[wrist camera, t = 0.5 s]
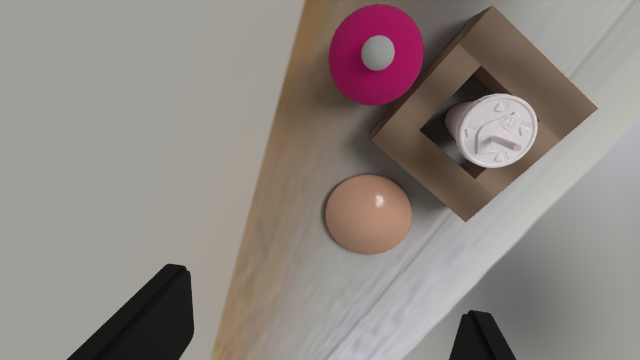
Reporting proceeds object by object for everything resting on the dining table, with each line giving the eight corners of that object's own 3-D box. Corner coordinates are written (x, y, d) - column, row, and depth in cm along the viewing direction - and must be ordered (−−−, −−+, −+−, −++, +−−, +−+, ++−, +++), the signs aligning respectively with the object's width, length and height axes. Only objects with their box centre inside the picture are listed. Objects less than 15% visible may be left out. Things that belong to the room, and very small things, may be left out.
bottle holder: (472, 16, 32) (492, 5, 27) (564, 104, 33) (598, 108, 29) (369, 133, 37) (370, 140, 32) (452, 204, 38) (465, 222, 34)
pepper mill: (342, 106, 36) (325, 133, 17) (330, 42, 34) (295, -7, 15) (404, 93, 35) (458, 107, 16) (395, 26, 33) (445, -50, 14)
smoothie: (421, 123, 36) (457, 147, 22) (462, 78, 34) (530, 75, 20) (460, 157, 36) (519, 200, 23) (503, 115, 34) (594, 136, 21)
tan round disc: (364, 156, 38) (364, 158, 37) (429, 211, 39) (430, 214, 38) (309, 216, 41) (308, 219, 40) (370, 264, 42) (370, 269, 41)
